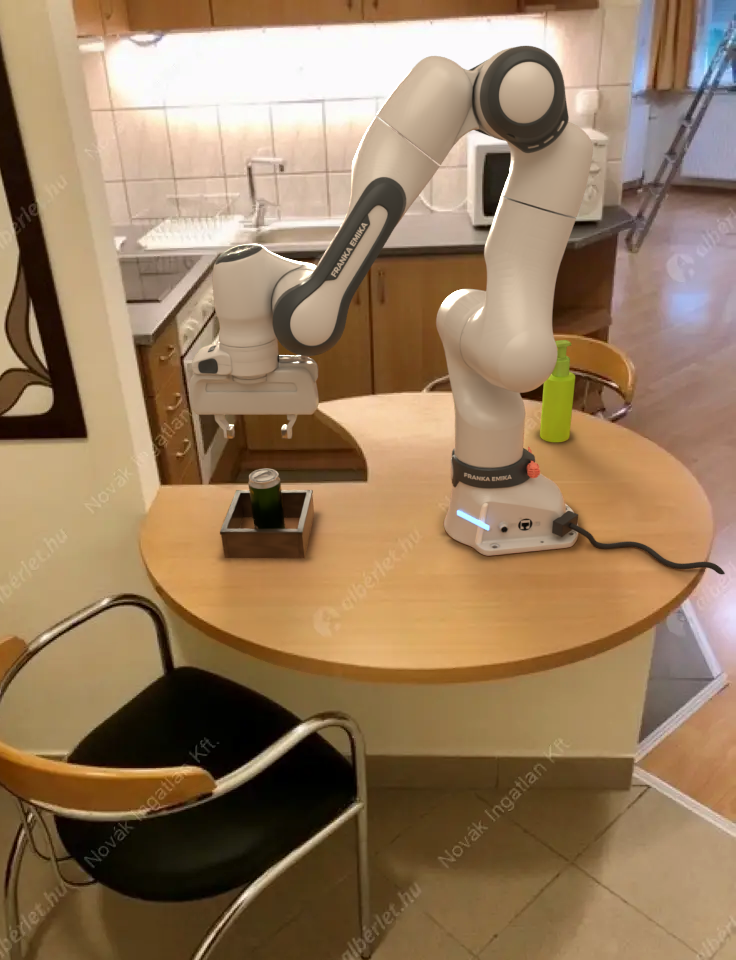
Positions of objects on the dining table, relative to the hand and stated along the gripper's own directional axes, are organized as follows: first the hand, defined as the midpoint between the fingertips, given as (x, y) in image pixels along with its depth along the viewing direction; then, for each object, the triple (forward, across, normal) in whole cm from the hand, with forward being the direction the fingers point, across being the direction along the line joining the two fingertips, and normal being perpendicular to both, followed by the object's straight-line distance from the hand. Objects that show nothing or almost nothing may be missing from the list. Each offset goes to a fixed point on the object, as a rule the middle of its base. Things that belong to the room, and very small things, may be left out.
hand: (258, 437), depth 138 cm
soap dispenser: (+18, -52, -38) cm, 67 cm away
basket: (+19, 0, 0) cm, 19 cm away
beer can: (+19, 0, 0) cm, 19 cm away
